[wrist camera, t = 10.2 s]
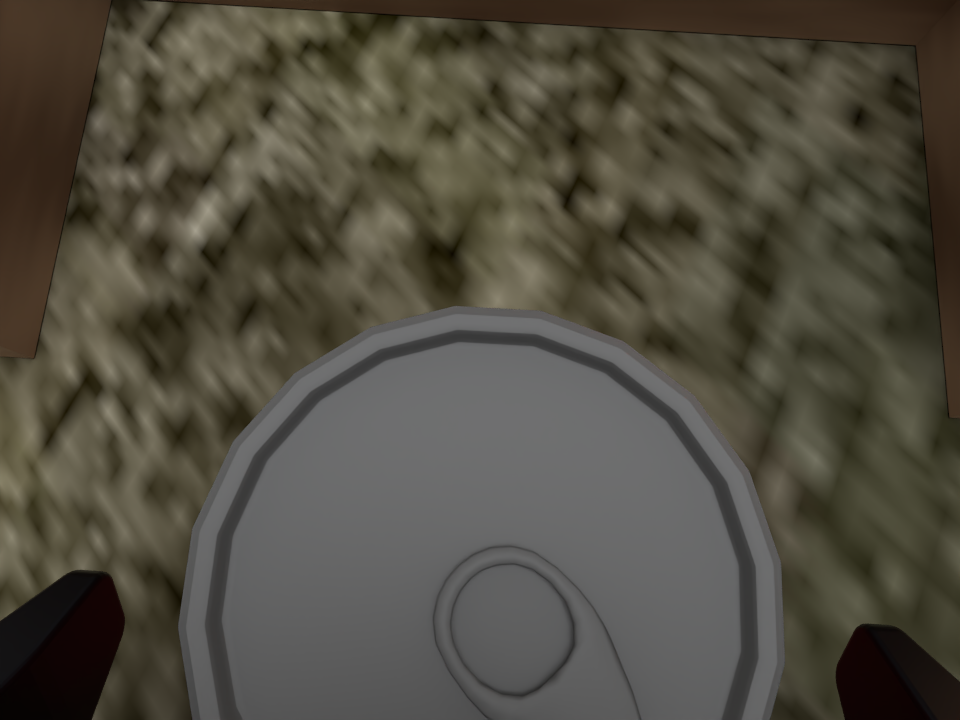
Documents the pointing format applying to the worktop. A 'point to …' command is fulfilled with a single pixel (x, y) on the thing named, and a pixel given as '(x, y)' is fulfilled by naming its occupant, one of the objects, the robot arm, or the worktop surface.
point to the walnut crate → (604, 3)
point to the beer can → (482, 539)
